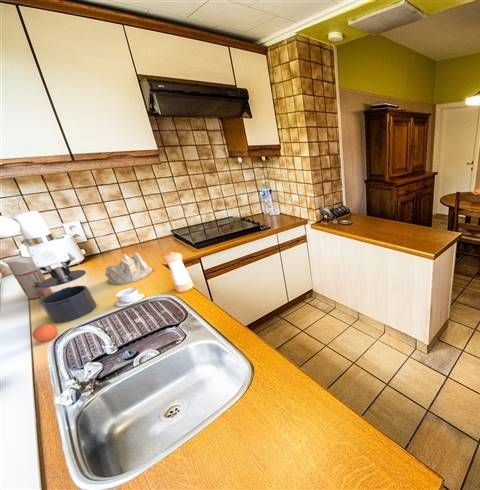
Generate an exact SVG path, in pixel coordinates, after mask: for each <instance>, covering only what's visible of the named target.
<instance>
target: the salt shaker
mask: <svg viewBox="0 0 480 490" xmlns="http://www.w3.org/2000/svg"><path fill="white" fill-rule="evenodd" d="M163 261H164V262H165V263H167V266H168V268H169V271H170V275H171V279H172V281H173V287H174V289H175V291H176V293H177V292H178V293H182V292H183V293H184V292H187V291H189V290H191V289H192V288H193V287H194V282H193V279H192V278H191V277H190V275H189V272H188V270H187V269H186V267H185V265H184V262H183V255H182V253H181V252H177V251H175V252H173V251H171V252H169V253H168V254H166V255H165V256H164V258H163Z"/></svg>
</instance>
